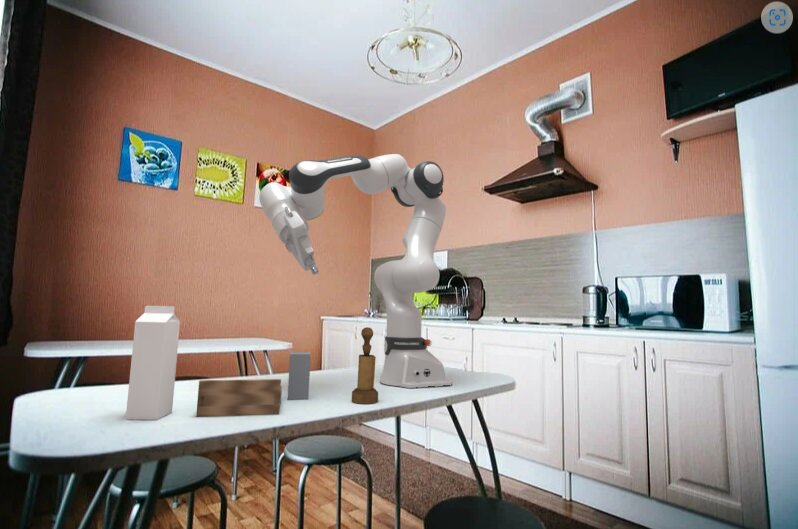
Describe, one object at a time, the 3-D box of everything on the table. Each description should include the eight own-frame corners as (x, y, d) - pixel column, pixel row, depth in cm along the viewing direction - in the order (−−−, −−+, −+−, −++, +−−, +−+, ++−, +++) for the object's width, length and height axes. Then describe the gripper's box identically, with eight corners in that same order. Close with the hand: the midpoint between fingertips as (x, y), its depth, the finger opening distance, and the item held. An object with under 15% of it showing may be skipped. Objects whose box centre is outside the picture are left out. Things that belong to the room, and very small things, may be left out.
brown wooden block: (281, 398, 101) (282, 369, 101) (278, 414, 86) (280, 380, 86) (211, 400, 97) (213, 370, 97) (196, 416, 82) (199, 381, 83)
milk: (156, 420, 79) (167, 306, 81) (124, 420, 78) (136, 305, 81) (172, 412, 85) (181, 306, 87) (142, 411, 84) (153, 305, 87)
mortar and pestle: (373, 405, 96) (376, 328, 98) (347, 403, 98) (350, 327, 100) (380, 399, 103) (383, 327, 105) (356, 397, 104) (359, 326, 106)
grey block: (307, 395, 105) (309, 352, 106) (308, 399, 100) (310, 354, 101) (287, 395, 104) (290, 352, 105) (287, 400, 99) (290, 354, 100)
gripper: (295, 198, 106) (319, 235, 100) (307, 243, 123) (328, 277, 117) (273, 208, 104) (296, 246, 98) (288, 252, 121) (308, 287, 115)
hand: (313, 263), depth 108 cm, fingers open, 8 cm apart
